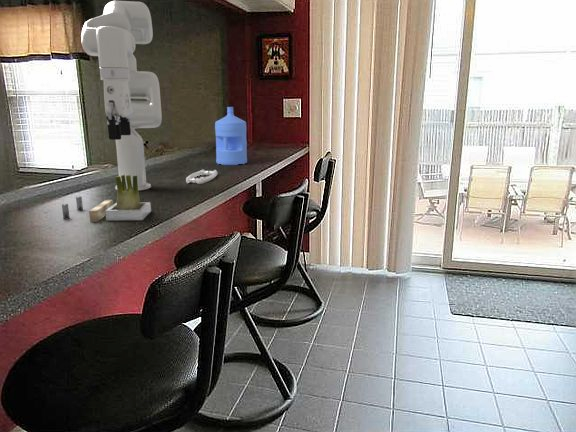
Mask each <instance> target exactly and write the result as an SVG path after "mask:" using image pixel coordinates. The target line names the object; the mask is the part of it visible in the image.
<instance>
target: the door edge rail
mask: <svg viewBox="0 0 576 432" xmlns="http://www.w3.org/2000/svg"><path fill="white" fill-rule="evenodd" d="M112 205H114V200H113V199H105V200H104V201H102V202H101V203H99V204H97V205H96V206H95V207H93V208H91V209H90V210H89V211H88V214H89V216H88V217H89V222H93V223H95V222H99V221H101V220H102V219H103V218H104V217H106V215H105V210H107V209H108V208H110V207H111V206H112Z"/></svg>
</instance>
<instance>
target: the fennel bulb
mask: <svg viewBox="0 0 576 432" xmlns="http://www.w3.org/2000/svg"><path fill="white" fill-rule="evenodd" d="M121 179H122V182H121ZM115 181H116V182H115V183H116V185H117V190H116V192H117V193H116V203H117V210H139V206H140V201H141V200H140V194H139V192H140V191H138V182H137V175H134V176H133V188H132V183H131V176H130V175H126V181H127V187H126V181H125V175H121V177H120V176H119V175H117V176H115ZM127 188H128V189H127Z"/></svg>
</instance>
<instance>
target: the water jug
mask: <svg viewBox="0 0 576 432" xmlns="http://www.w3.org/2000/svg"><path fill="white" fill-rule="evenodd" d="M226 109H227V110H226V113H227V114H226V115H225V116H224V117H222V118H219V120H216V121H215V123H214V131H215V147H216V148H215V155H216V158H215V161H216V164H217V165H219V164H221V165H220V166H239V165H238V164H243V165H246V164H247V163H248V155H247V154H248V152H247V150H248V149H247V146H248V143H247V122H246V121H245V120H243V119H242V118H239V117H237V116H235V114H234V106H227V107H226ZM245 163H246V164H245Z"/></svg>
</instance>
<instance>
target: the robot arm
mask: <svg viewBox="0 0 576 432" xmlns="http://www.w3.org/2000/svg"><path fill="white" fill-rule="evenodd" d="M153 30H154V29H153V23H152V16H151V12H150V9H149V7H148V6H147V4H146V3H144V2H141V1H134V0H133V1H129V0H128V1H127V0H112V1H109V2H108V3H107V4H106V5H105V6H104V8H103V13H102V15H99V16H96V17H93V18H90V19H88V20H87V21H85V22H84V24H83V27H82V30H81V35H80V37H81V40H80V41H81V46H82V49H83V51H84V52H85V53H86V54H87V55H88V56H91V57H98V65H99V76H100V78H99V79H100V80H101V81H103V99H104V100H103V101H104V110H105V111H104V112H105V115H106V120H107V122H106V124H107V132H108V134H107V135H108V138H109V139H108V140H112V141H114V140H115V146H116V147H115V150H116V159H117V161H116V162H117V170H118V171H117V172H118V176H120V177H121V175H125V181H126V175H130V176H131V183H132V188H133V176H134V175H137V182H138V192H140V191H146V190H149V189H151V188H152V184H151V183H148V182H147V177H146V176H147V174H146V162H145V161H146V160H145V158H146V157H145V147H144V140H143V137H142V136H141V135H140V134H139V133H138V131H136V130H135V129H152V128H153V129H155V128H158V127H160V126H161V125H162V119H163V118H162V117H163V116H162V105H161V104H162V103H161V102H162V101H161V88H160V82H159V78H158V76H157V75H156V73H154V72H153V71H152V72H151V71H139V70H138V68H137V67H138V66H137V58H136V57H135V55H134V52H135V51H136V45H147V44H150V43H151V42H152V40H153V37H154V35H153V34H154V32H153ZM131 99H132V100H131ZM133 99H139V100H133ZM142 99H145V100H142ZM121 182H122V179H121ZM126 187H127V181H126ZM114 188H115V190H116V191H117V184H116V185H115V187H114ZM127 189H128V188H127Z"/></svg>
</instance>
